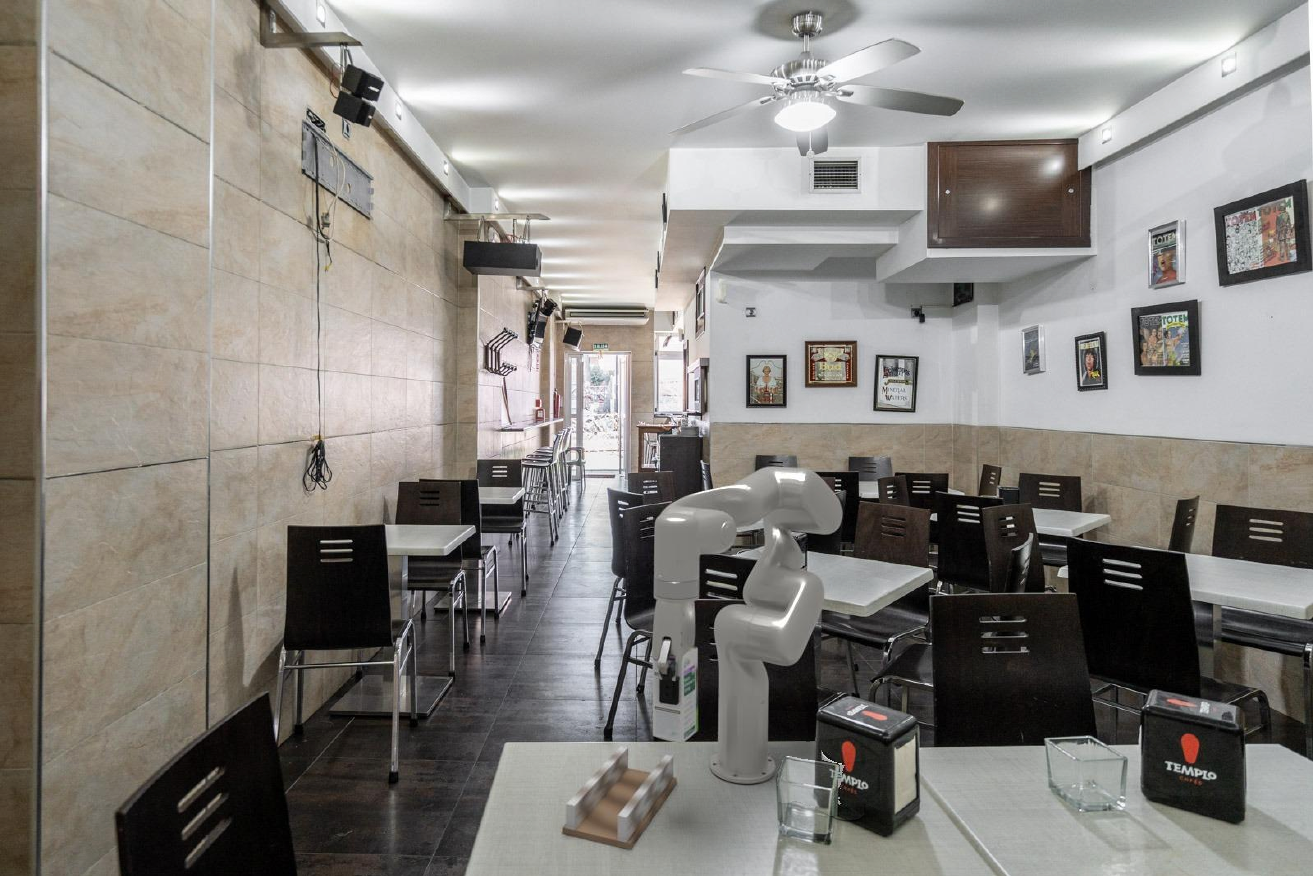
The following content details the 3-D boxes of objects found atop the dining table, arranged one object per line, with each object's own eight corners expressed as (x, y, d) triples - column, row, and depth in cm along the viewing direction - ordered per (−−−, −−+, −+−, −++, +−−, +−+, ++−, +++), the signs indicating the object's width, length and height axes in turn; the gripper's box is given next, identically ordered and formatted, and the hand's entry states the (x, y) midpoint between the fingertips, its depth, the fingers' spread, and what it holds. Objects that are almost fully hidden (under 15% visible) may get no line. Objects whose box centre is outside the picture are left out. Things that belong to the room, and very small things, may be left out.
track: (617, 771, 137) (617, 745, 137) (676, 783, 133) (676, 756, 133) (562, 833, 117) (562, 803, 117) (630, 849, 112) (630, 818, 112)
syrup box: (683, 744, 116) (684, 655, 116) (651, 736, 119) (652, 649, 118) (698, 731, 121) (699, 646, 121) (667, 724, 124) (668, 640, 123)
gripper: (670, 576, 129) (669, 675, 129) (637, 598, 112) (636, 712, 113) (711, 579, 126) (709, 680, 127) (683, 603, 110) (682, 719, 110)
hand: (675, 694), depth 120 cm, fingers closed on syrup box, 6 cm apart
